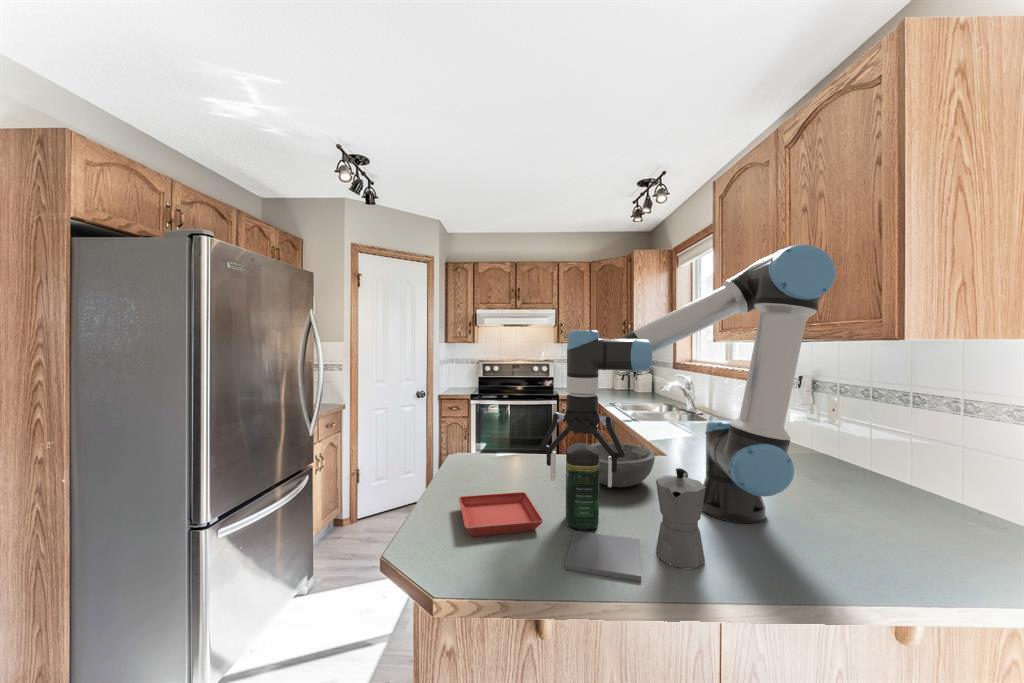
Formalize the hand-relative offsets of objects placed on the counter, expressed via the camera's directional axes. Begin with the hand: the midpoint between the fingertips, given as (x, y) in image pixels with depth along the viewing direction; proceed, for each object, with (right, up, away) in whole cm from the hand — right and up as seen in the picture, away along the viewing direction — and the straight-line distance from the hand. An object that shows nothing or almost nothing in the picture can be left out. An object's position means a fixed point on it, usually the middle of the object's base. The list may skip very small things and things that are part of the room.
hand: (580, 482), depth 98 cm
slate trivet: (+2, -10, -15) cm, 18 cm away
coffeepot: (+18, -10, -14) cm, 25 cm away
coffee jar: (0, -10, 0) cm, 10 cm away
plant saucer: (-20, -10, +2) cm, 23 cm away
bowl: (+15, -10, +27) cm, 33 cm away
